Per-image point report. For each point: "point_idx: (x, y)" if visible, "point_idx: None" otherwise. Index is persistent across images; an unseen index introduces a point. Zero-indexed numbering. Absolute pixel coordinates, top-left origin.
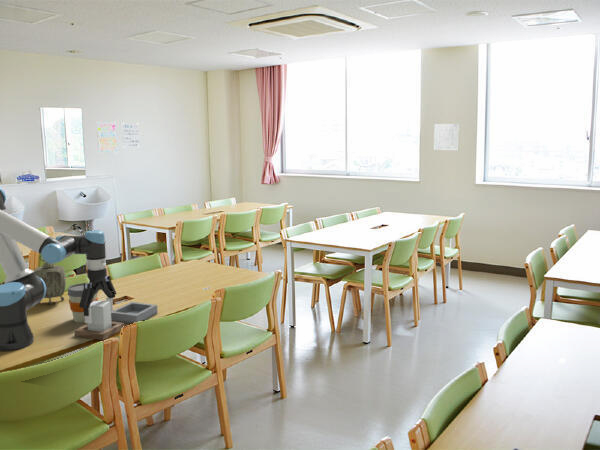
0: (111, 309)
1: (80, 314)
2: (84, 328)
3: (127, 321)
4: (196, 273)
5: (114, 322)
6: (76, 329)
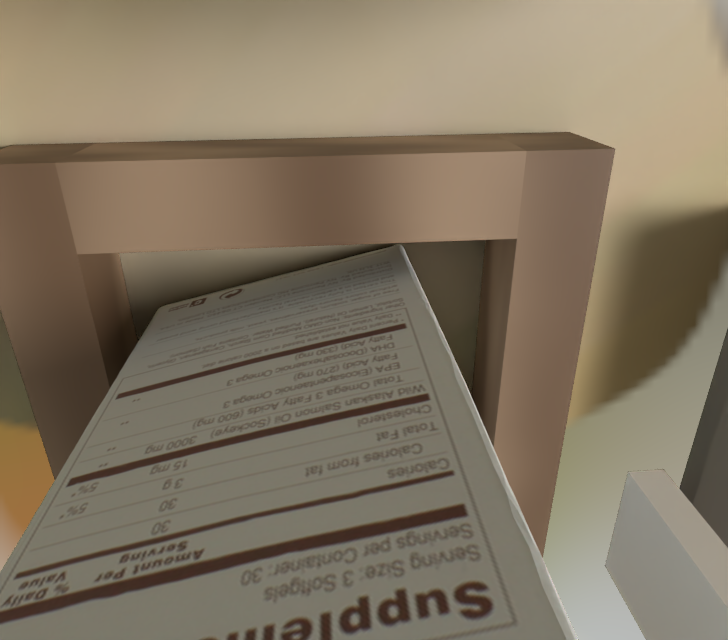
0: (645, 625)
1: None
2: (157, 246)
3: (702, 474)
4: None
5: (528, 486)
6: (2, 182)
